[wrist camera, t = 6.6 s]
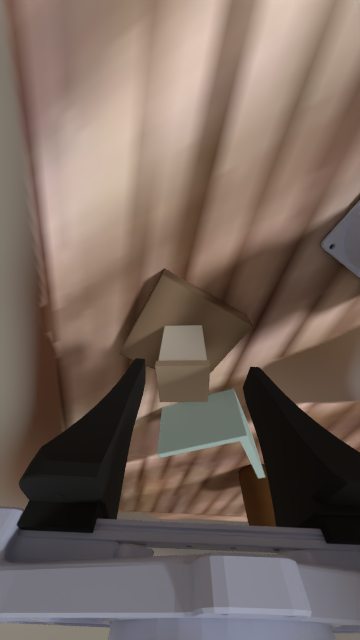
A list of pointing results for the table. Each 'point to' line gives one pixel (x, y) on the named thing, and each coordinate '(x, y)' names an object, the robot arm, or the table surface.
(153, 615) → the robot arm
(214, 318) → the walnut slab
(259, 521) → the mug
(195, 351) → the beige rectangular block
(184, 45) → the table surface
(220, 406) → the l-shaped corner panel
